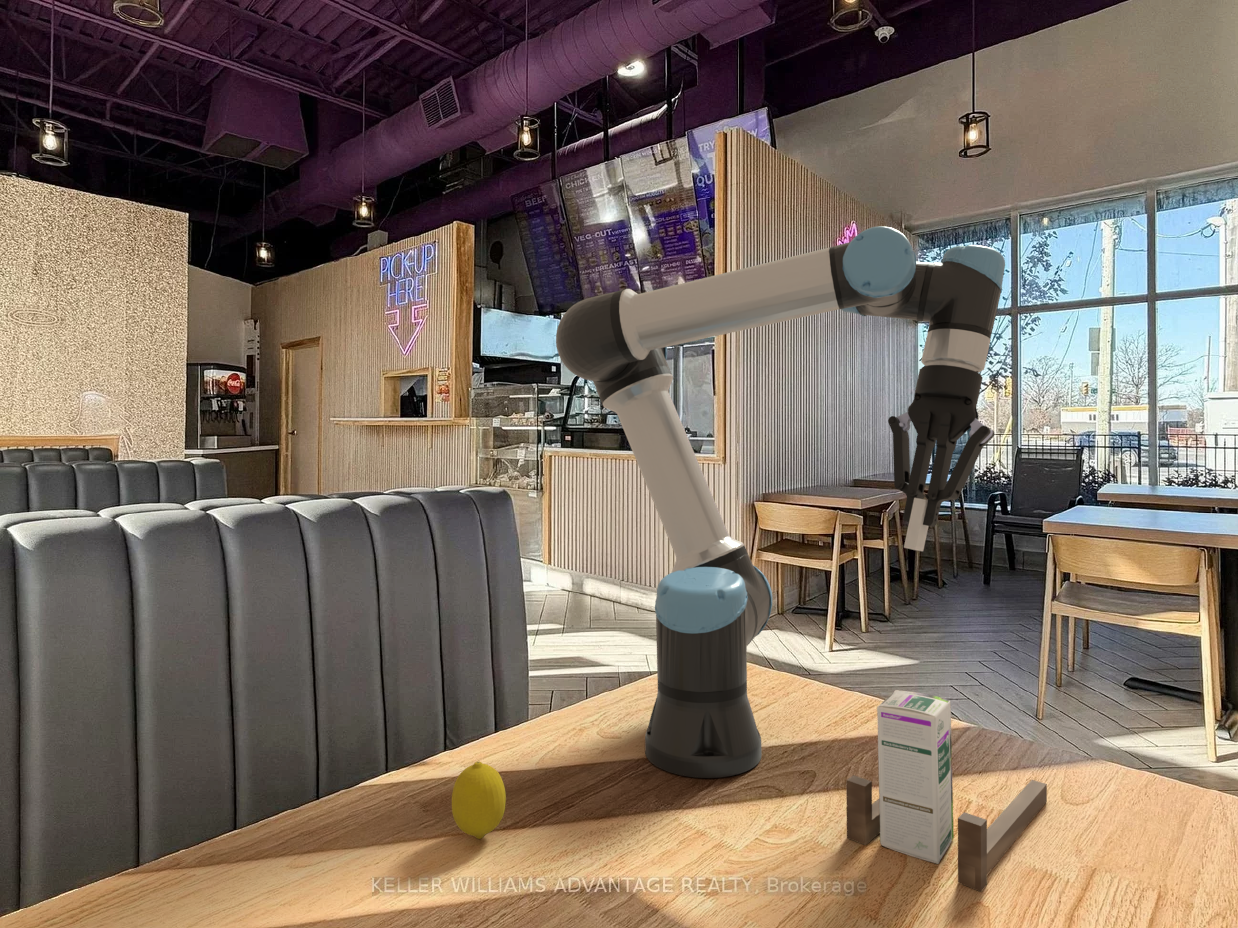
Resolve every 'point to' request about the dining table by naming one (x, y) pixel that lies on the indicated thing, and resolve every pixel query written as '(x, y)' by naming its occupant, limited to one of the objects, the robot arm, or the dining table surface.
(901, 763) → the syrup box
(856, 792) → the brown wooden rack
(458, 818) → the lemon
